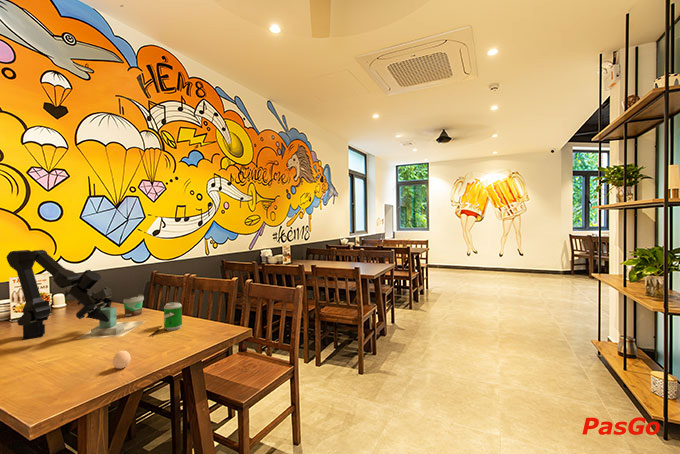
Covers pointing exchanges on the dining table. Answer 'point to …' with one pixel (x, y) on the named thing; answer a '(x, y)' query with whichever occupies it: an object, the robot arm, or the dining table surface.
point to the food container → (133, 306)
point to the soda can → (172, 316)
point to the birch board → (127, 328)
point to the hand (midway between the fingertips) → (111, 319)
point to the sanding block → (108, 323)
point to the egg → (121, 359)
